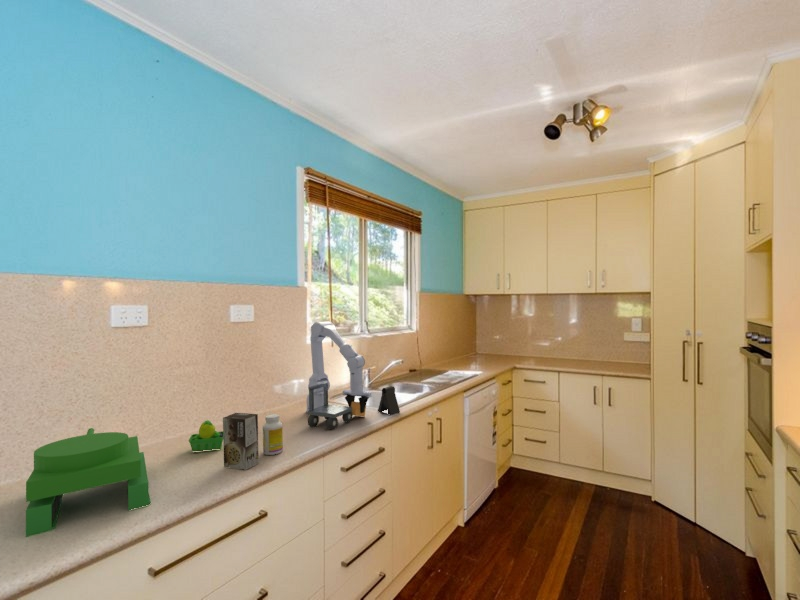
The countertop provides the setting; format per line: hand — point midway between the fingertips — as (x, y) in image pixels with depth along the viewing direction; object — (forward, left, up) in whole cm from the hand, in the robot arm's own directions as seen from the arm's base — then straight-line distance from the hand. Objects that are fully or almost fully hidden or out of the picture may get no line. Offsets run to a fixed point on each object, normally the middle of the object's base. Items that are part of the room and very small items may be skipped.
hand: (357, 411), depth 184 cm
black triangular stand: (+9, +14, -3) cm, 17 cm away
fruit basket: (-27, -57, -3) cm, 63 cm away
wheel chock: (0, -2, -1) cm, 2 cm away
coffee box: (-4, -62, -3) cm, 62 cm away
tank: (-25, -94, -3) cm, 97 cm away
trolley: (-5, -13, +2) cm, 14 cm away
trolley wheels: (-5, -13, -3) cm, 14 cm away
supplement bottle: (-3, -49, -3) cm, 49 cm away
